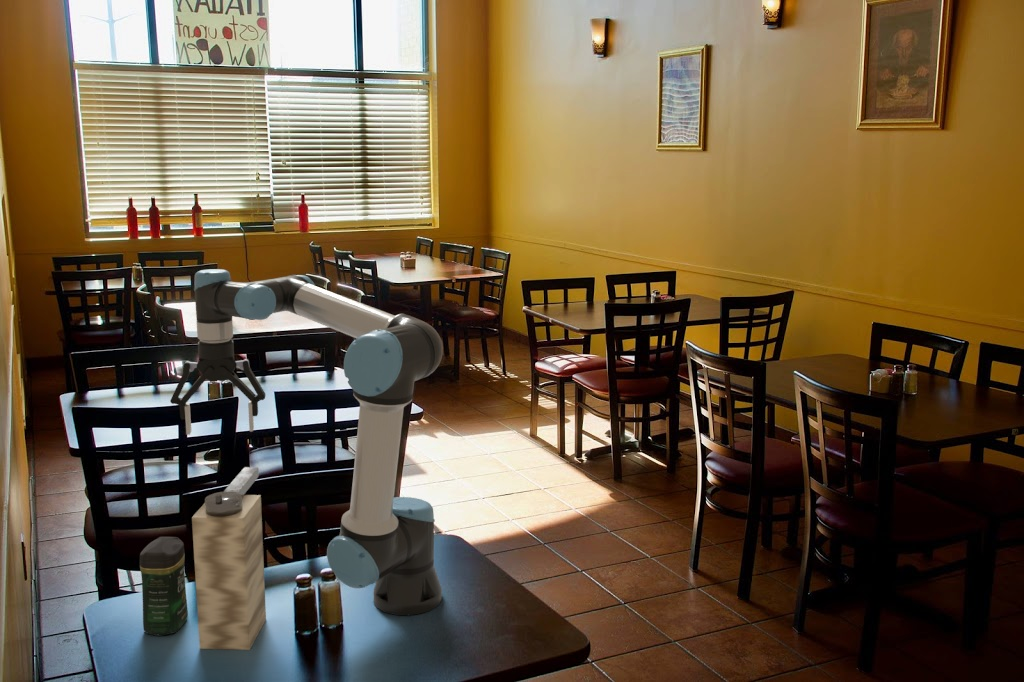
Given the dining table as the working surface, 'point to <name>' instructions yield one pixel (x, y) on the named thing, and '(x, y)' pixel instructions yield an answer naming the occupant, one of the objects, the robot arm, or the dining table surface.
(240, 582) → the birch pedestal
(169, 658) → the dining table surface
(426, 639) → the dining table surface
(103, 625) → the dining table surface
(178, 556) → the coffee jar
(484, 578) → the dining table surface
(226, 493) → the pin spanner
